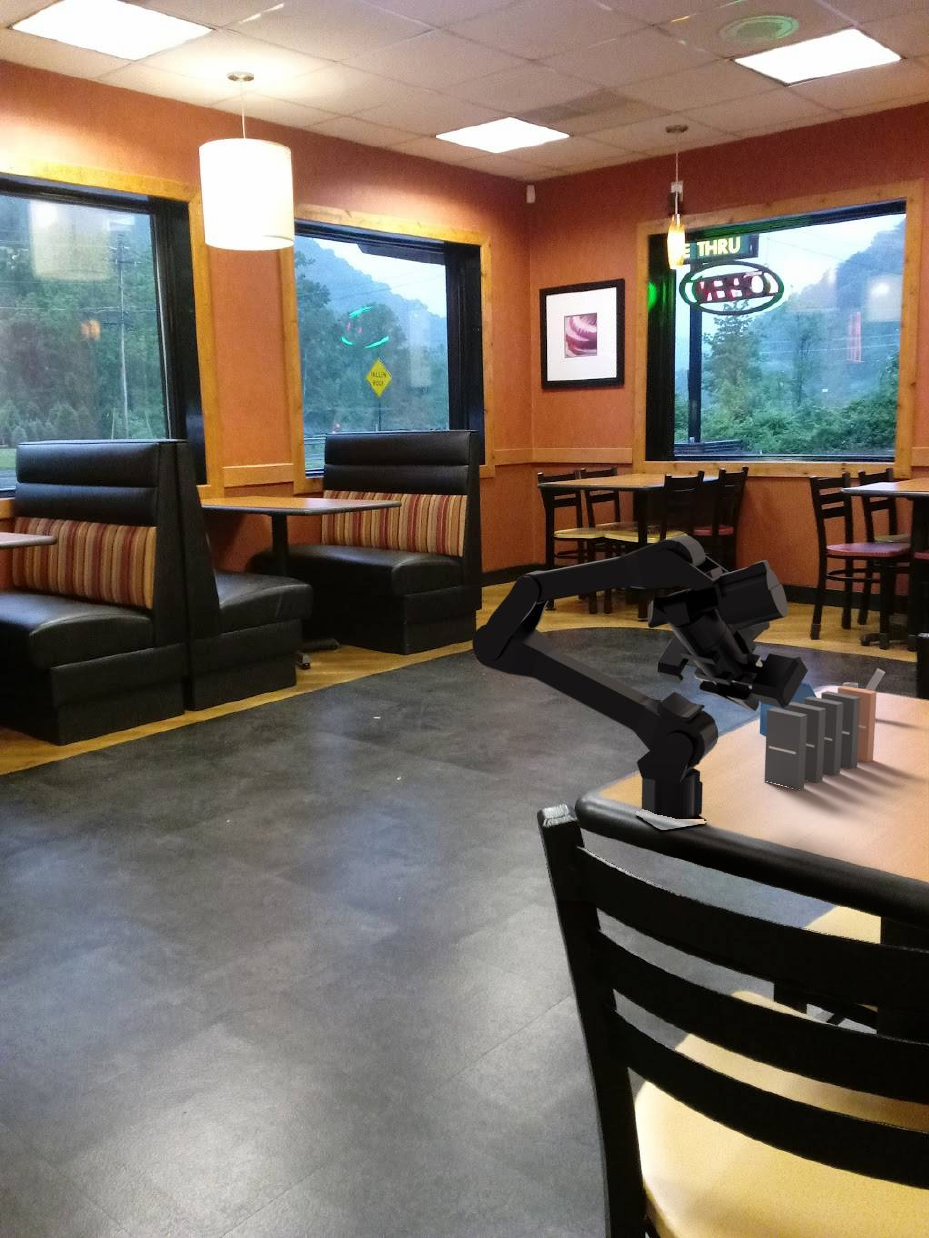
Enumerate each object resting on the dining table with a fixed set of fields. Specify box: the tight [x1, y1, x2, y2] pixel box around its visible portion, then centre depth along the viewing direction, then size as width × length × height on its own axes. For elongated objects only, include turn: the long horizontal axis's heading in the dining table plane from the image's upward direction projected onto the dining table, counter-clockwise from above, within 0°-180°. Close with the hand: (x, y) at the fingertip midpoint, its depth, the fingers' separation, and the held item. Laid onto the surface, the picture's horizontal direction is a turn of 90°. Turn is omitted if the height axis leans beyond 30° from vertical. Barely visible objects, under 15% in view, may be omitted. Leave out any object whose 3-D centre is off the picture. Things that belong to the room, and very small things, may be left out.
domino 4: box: [820, 690, 860, 770], centre depth 149 cm, size 2×5×10 cm, turn 41°
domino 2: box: [786, 702, 826, 784], centre depth 143 cm, size 2×5×10 cm, turn 41°
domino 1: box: [763, 708, 807, 791], centre depth 141 cm, size 2×5×10 cm, turn 41°
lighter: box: [837, 668, 886, 691], centre depth 175 cm, size 7×2×8 cm, turn 63°
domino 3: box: [804, 696, 843, 777], centre depth 146 cm, size 2×5×10 cm, turn 41°
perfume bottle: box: [759, 681, 818, 737], centre depth 163 cm, size 6×6×12 cm
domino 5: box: [837, 685, 878, 763], centre depth 152 cm, size 2×5×10 cm, turn 41°
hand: (754, 707), depth 134 cm, fingers closed
